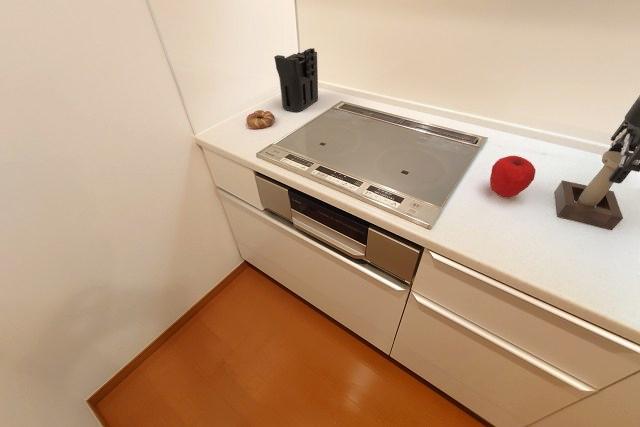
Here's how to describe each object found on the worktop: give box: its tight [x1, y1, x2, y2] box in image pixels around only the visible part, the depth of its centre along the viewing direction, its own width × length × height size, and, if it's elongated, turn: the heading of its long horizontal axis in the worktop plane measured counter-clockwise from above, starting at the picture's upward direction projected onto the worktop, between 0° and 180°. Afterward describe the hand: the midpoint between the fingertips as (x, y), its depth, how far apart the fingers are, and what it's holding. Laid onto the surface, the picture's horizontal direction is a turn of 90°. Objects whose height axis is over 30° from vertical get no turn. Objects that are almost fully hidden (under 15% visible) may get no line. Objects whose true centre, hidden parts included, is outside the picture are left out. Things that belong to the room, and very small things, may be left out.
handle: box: [576, 150, 629, 207], centre depth 70 cm, size 5×6×15 cm
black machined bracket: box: [273, 47, 319, 113], centre depth 122 cm, size 12×21×22 cm, turn 149°
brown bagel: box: [245, 109, 276, 130], centre depth 114 cm, size 12×11×4 cm
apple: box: [489, 155, 536, 199], centre depth 77 cm, size 10×10×11 cm
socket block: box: [554, 179, 624, 231], centre depth 73 cm, size 11×11×4 cm
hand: (610, 171), depth 67 cm, fingers open, 8 cm apart
